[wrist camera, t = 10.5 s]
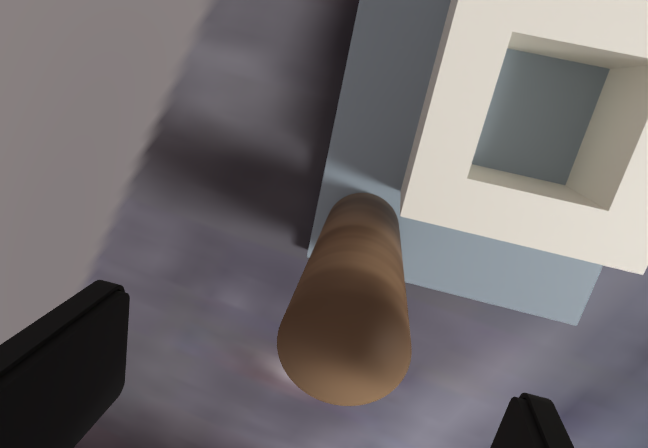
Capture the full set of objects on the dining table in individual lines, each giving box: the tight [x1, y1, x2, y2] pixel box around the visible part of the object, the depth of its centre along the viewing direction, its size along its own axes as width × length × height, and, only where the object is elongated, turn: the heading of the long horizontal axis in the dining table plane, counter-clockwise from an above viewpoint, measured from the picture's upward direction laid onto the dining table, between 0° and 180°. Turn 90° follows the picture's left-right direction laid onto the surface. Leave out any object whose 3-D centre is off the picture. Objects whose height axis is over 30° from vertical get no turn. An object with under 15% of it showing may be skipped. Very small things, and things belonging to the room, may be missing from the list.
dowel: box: [277, 193, 411, 406], centre depth 19 cm, size 4×4×12 cm
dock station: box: [307, 0, 648, 326], centre depth 19 cm, size 25×15×6 cm, turn 168°
